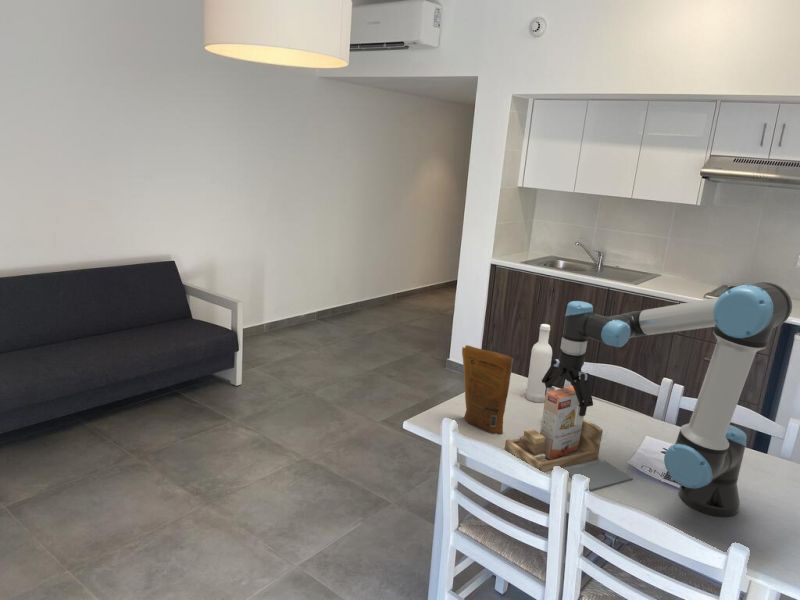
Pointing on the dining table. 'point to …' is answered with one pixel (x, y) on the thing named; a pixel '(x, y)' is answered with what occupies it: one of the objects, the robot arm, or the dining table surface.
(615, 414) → the dining table surface
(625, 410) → the dining table surface
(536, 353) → the bottle
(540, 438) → the oak offcut
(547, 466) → the oak rack
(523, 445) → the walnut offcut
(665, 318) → the robot arm
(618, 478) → the felt mat
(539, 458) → the birch offcut
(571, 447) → the cracker box
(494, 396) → the pancake mix bag
